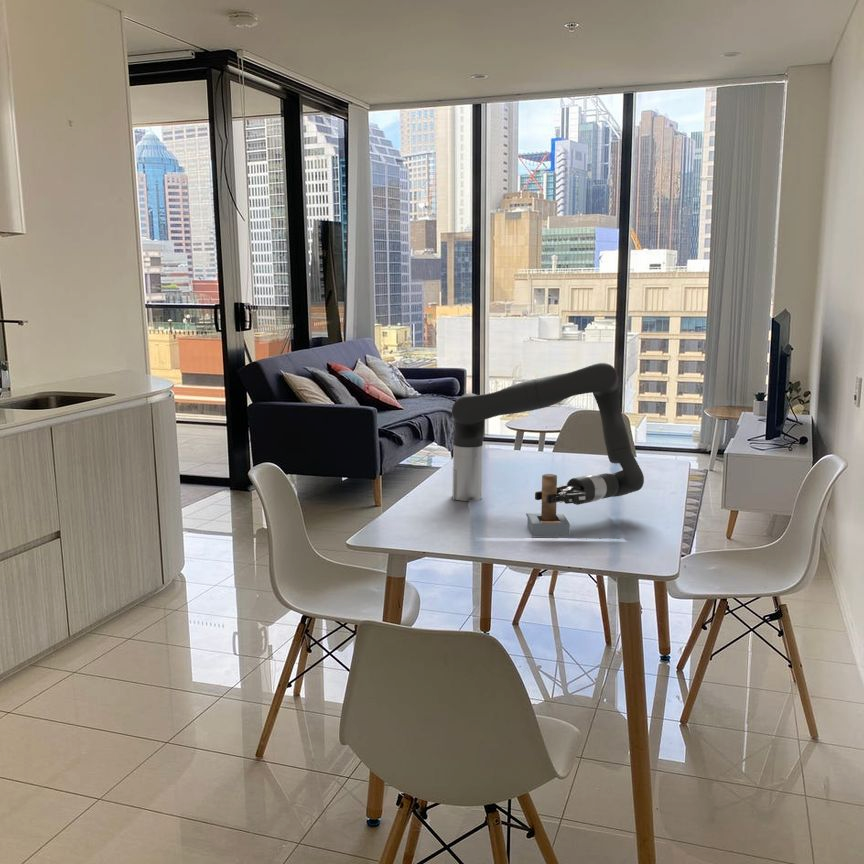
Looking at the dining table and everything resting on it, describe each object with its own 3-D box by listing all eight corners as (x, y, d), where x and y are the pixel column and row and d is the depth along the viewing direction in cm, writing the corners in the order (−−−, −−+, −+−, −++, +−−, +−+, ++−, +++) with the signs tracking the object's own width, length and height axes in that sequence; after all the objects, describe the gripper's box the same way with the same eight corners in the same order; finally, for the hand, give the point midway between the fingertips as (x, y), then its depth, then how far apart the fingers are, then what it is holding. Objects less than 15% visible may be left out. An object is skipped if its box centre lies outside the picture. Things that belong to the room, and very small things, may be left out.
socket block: (531, 537, 231) (532, 522, 230) (527, 527, 241) (527, 512, 240) (569, 538, 231) (569, 522, 230) (563, 527, 241) (563, 513, 240)
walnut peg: (542, 527, 234) (543, 477, 231) (540, 523, 238) (541, 474, 235) (556, 527, 234) (558, 477, 231) (554, 523, 238) (555, 474, 235)
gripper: (568, 471, 248) (524, 479, 238) (605, 481, 236) (560, 489, 226) (568, 497, 249) (523, 505, 239) (604, 507, 238) (559, 517, 228)
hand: (541, 497), depth 233 cm, fingers closed on walnut peg, 4 cm apart
